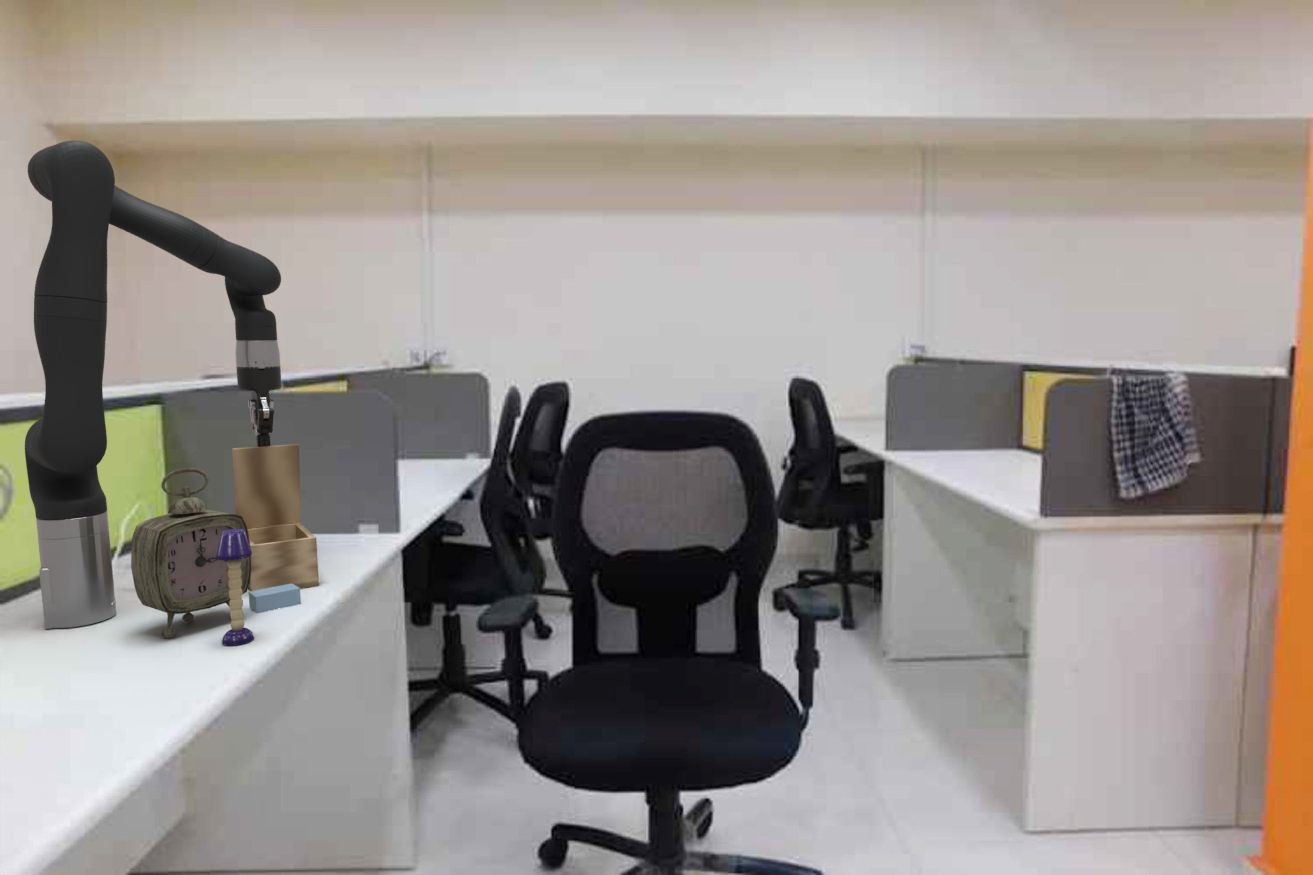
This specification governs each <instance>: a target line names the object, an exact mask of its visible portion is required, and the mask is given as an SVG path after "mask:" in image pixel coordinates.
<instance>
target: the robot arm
mask: <svg viewBox="0 0 1313 875" xmlns="http://www.w3.org/2000/svg"><path fill="white" fill-rule="evenodd" d="M110 161H111V160H109V158H108V157H107V155H106V154H105V153H104V152H103V151H102V150H101V149H99V147H98V146H96V145H94V144H92V143H90V142H88V141H84V140H68V141H67V140H65V141H63V142H62V141H61V142H57V143H56V144H53V145H50V146H46V147H45V148H43V149H40V150H38V151H37V152H35V153H34V154H33V155H32V156H31V158H30V160H29V161H28V163H27V176H28V179H29V181H30V184H31V185H32V186H33V188H34V189H35V190H36V192H38V194H40V195H41V197H43V198H44V199H46V200H47V201H49V202H51V218H52V219H51V220H52V221H51V230H50V235H49V240H48V243H47V245H46V248H45V251H44V254H43V257H42V259H41V262H40V265H39V268H38V272H37V276H36V278H35V280H36V281H35V286H34V293H33V295H34V297H33V328H34V329H33V331H34V337H35V342H36V347H37V350H38V351H37V352H38V354H39V359H40V362H41V365H42V371H43V376H44V382H45V383H44V384H45V385H44V386H45V390H44V391H45V392H44V405H43V414H42V418H39V419H38V420H36V421H35V422H34V423H33V424H32V425H31V426H30V427H29V428H28V430H27V432H26V434H25V437H24V438H25V440H24V457H25V465H26V467H25V468H26V472H27V473H26V475H27V481H28V489H29V496H30V499H31V501H32V505H33V507H34V512H35V522H36V523H35V524H36V531H37V532H36V533H37V542H38V553H39V561H40V562H39V564H40V567H39V570H38V571H39V572H38V573H39V583H40V591H41V602H42V612H43V613H42V614H43V622H44V623H43V624H44V629H45V630H49V629H61V628H62V629H65V628H74V627H75V628H76V627H82V626H83V627H84V626H88V625H92V624H95V623H99V622H102V621H105V620H108V619H111V618H112V617H114V616H115V615H116V614H117V609H116V608H117V607H116V605H117V604H116V602H117V601H116V596H115V585H114V572H113V561H112V560H113V559H112V549H111V540H110V529H109V528H110V526H109V525H110V524H109V516H108V504H107V503H108V502H107V497H106V494H105V492H104V490H103V489H102V486H101V484H100V480H99V476H98V464H100V463H101V461H102V460H103V458H104V456H105V454H106V450H107V448H108V436H107V426H106V415H105V408H104V395H103V394H104V393H103V380H104V368H105V356H106V339H107V338H106V337H107V336H106V335H107V326H108V325H107V324H108V236H109V235H108V233H109V227H110V226H109V225H111V226H113V227H116V228H118V229H120V230H122V231H125V232H126V233H129V234H131V235H133V236H135V237H137V238H138V239H141V240H144V241H145V242H147V243H149V244H152V245H153V246H155V247H157V248H158V249H159V248H160V249H161V250H163V251H164V252H167V253H169V254H170V255H172V256H174V257H176V258H178V259H179V260H181V261H183V262H185V263H186V264H189V265H190V266H192V267H195V268H196V269H198V270H199V271H202V272H205V273H206V274H207V273H208V274H212V275H219V276H223V277H224V286H225V291H226V295H227V298H228V302H229V305H230V309H231V312H232V314H233V317H234V326H235V328H234V329H235V340H236V341H235V342H236V343H235V363H236V364H235V365H236V381H237V389H238V390H239V391H251V398H250V399H248V400H247V402H248V403H247V404H248V409H249V411H250V412H249V413H250V422H251V423H252V430H253V432H254V436H256V437H255V440H256V447H260V446H272V444H271V435H272V434H273V430H274V429H273V425H274V413H275V409H274V408H275V405H274V404H275V403H274V402H275V401H274V399H271V397H270V396H271V395H270V391H272V390H273V391H275V390H280V389H281V388H282V372H281V368H282V367H281V356H280V355H281V354H280V348H279V344H278V342H279V341H278V330H277V318H276V315H275V313H274V312H273V311H272V310H269V309H267V307H266V304H265V301H264V296H267V295H270V294H273V293H274V292H276V291H277V290H278V289H279V288H280V286H281V282H282V275H281V272H280V270H279V268H278V266H277V265H276V264H275V263H274V262H273V260H270V259H269V258H268V257H266V256H264V255H262V254H260V253H259V252H256V251H254V250H252V249H250V248H247V247H244V246H242V245H239V244H237V243H234V242H231V241H230V240H227V239H225V238H223V237H222V236H220V235H219V234H217V233H216V232H214V231H212V230H210V229H208V228H207V227H205V226H203V225H202V224H200V223H198V222H196V221H195V220H193V219H191V218H189V217H187V216H184V215H182V214H180V213H178V212H174V211H172V210H170V209H168V208H164V207H161V206H159V205H156V204H153V203H152V202H148V201H146V200H143V199H142V198H139V197H138V196H135V195H133V194H131V193H130V192H127V191H125V190H123V189H122V188H120V187H119V186H117V185H116V181H115V180H116V177H115V173H114V168H113V165H112V163H111V162H110Z"/></svg>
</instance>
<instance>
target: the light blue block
mask: <svg viewBox="0 0 1313 875" xmlns="http://www.w3.org/2000/svg"><path fill="white" fill-rule="evenodd" d="M301 598H302V597H301V589H300V588H299V587H297V586H296V585H294V584H292V583H291V584H286V585H281V586H276V587H271V588H266V589H261V590H256V591H248V604H249V609H250V610H252V611H253V612H254V611H255V612H254V613H256V614H259V613H260V614H261V613H264V612H269V611H268V610H270V611H274V609H275V610H279V609H278V608H280V609H285V608H288V607H289V608H290V607H293V606H297V605H301V604H302V603H301V602H302V601H301Z"/></svg>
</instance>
